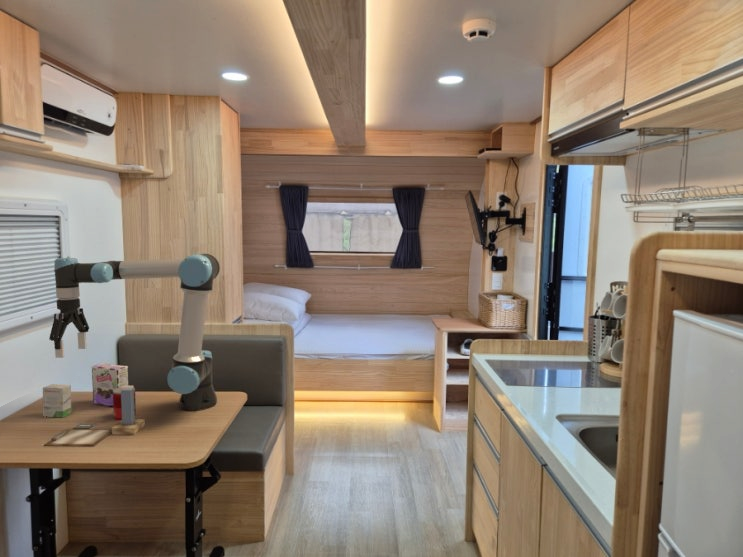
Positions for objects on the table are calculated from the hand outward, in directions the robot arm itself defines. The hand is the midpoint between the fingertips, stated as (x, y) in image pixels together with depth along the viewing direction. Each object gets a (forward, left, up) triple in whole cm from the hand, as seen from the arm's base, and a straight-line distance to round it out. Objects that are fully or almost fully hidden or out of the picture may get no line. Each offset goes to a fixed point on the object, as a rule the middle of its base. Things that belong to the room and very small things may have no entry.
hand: (71, 353), depth 182 cm
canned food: (-19, -2, -26) cm, 32 cm away
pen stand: (-27, +11, -26) cm, 39 cm away
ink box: (+8, -3, -26) cm, 28 cm away
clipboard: (-13, +18, -26) cm, 34 cm away
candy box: (-6, -16, -26) cm, 31 cm away
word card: (-9, +8, -26) cm, 28 cm away
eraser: (-27, +11, -26) cm, 39 cm away
